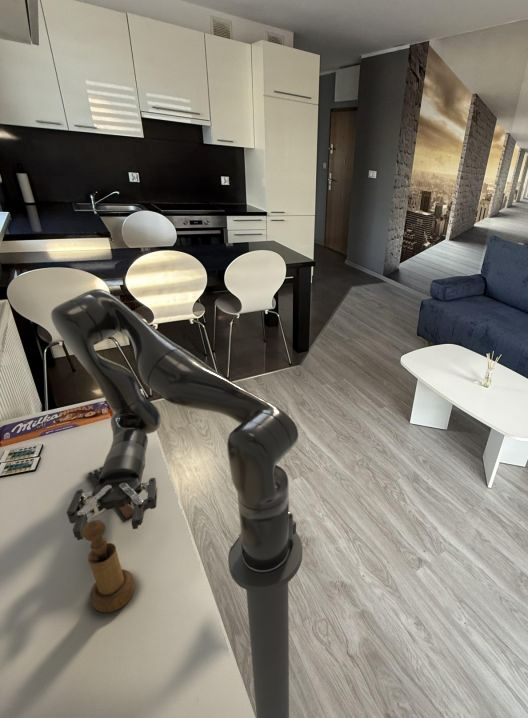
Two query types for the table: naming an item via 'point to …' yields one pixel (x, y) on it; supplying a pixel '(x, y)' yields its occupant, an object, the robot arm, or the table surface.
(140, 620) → the table surface
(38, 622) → the table surface
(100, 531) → the mortar and pestle
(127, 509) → the brush with brown handle
